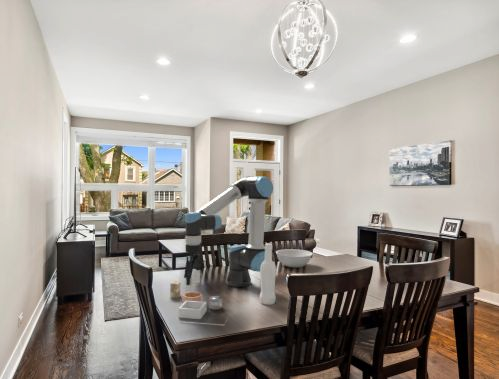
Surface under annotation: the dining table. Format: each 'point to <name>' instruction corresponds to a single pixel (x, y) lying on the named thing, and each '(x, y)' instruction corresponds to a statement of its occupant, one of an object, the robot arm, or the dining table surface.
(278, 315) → the dining table surface
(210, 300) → the tin
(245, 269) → the robot arm
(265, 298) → the bottle
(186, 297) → the terracotta cup
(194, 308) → the tray white
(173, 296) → the block
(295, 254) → the bowl
